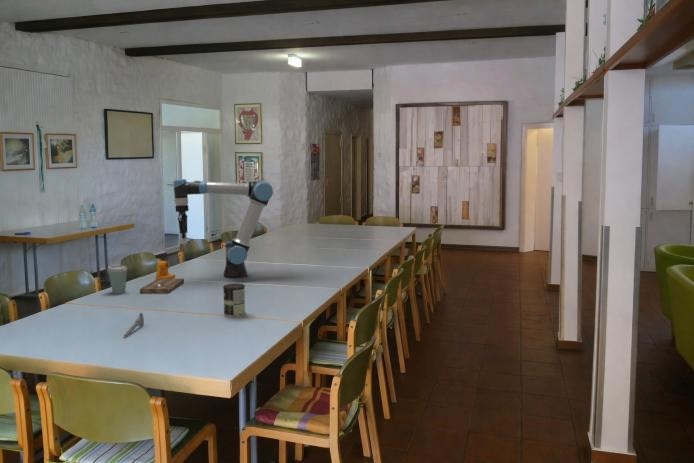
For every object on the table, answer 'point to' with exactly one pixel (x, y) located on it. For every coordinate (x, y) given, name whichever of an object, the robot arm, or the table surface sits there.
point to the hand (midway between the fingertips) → (184, 243)
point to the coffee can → (234, 300)
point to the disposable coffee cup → (117, 278)
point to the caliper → (137, 323)
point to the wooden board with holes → (166, 286)
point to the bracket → (164, 271)
